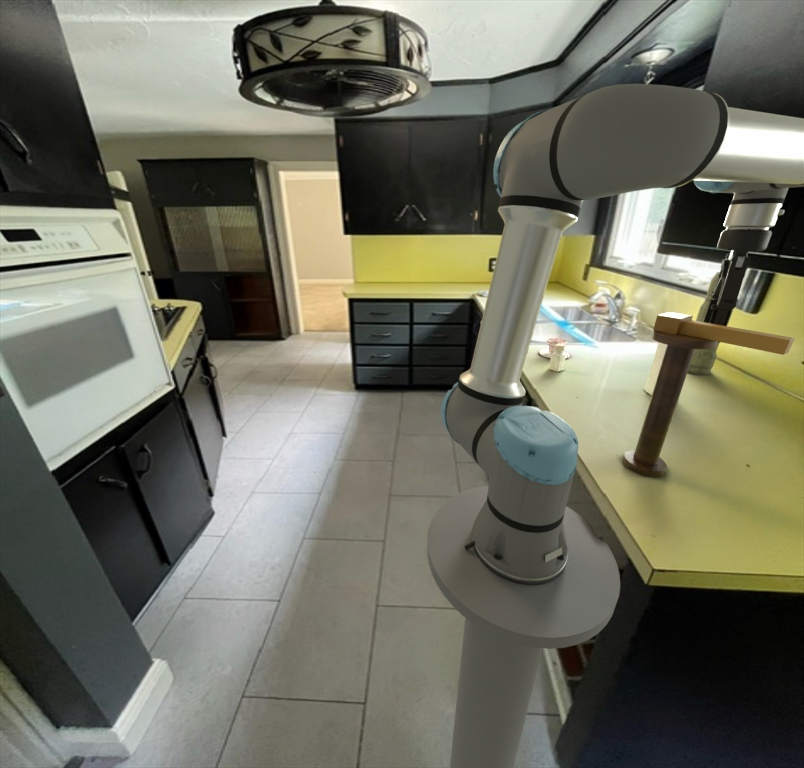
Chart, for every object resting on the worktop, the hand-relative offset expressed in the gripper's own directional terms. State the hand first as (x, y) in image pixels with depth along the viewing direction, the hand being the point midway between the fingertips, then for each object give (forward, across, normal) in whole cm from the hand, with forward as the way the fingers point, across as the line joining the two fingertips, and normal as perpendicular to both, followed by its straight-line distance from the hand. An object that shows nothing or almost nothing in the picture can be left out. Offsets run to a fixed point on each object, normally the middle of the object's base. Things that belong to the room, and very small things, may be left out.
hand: (710, 334), depth 79 cm
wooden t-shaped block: (-3, -19, +1) cm, 19 cm away
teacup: (+27, +50, +42) cm, 71 cm away
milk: (+27, +30, +4) cm, 40 cm away
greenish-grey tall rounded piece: (+26, +62, -5) cm, 68 cm away
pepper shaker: (+27, +33, +37) cm, 56 cm away
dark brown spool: (+27, -17, +5) cm, 32 cm away
